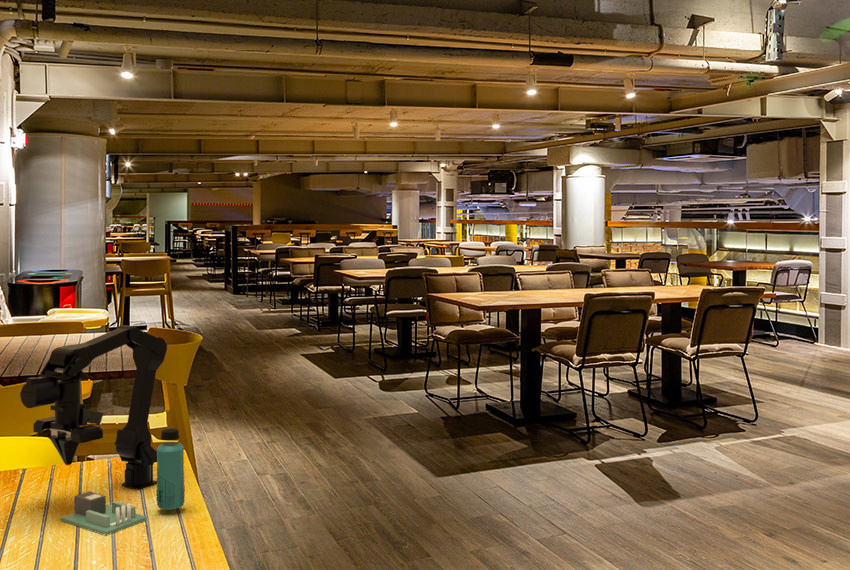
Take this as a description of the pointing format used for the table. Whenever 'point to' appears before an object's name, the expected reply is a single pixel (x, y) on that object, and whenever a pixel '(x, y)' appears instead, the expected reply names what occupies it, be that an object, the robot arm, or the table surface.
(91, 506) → the plug
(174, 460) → the beverage bottle
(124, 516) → the board
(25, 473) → the table surface
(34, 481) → the table surface
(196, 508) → the table surface
